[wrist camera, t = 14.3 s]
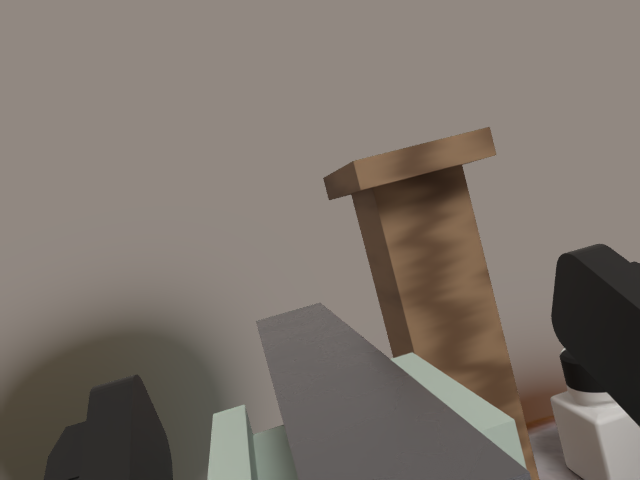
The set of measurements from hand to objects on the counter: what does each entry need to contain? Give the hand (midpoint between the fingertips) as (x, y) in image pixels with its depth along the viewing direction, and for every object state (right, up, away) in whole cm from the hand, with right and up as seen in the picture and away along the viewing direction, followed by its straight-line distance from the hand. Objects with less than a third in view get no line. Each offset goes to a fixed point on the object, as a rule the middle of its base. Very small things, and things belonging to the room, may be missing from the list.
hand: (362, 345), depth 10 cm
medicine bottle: (+26, -19, +39) cm, 51 cm away
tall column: (+13, -22, +35) cm, 44 cm away
